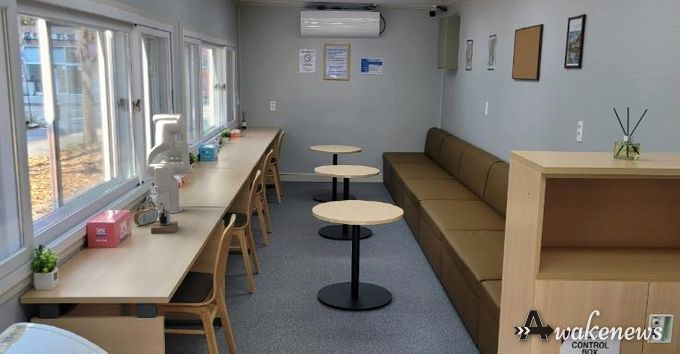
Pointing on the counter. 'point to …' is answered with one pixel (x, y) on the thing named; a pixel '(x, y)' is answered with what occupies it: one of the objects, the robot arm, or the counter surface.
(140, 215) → the wooden speaker
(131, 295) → the counter surface
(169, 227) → the base
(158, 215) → the block
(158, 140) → the robot arm
